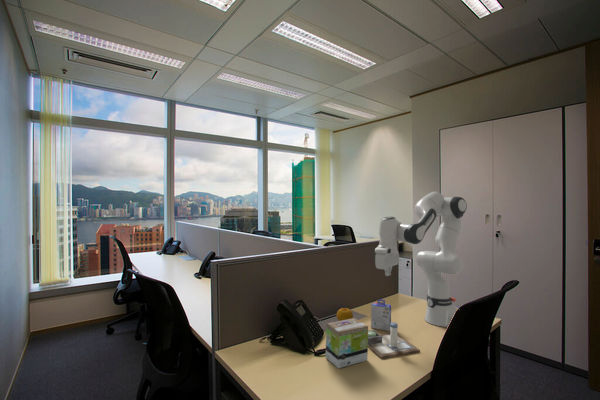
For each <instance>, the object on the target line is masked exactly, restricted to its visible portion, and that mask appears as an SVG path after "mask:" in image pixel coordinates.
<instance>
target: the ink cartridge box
mask: <svg viewBox="0 0 600 400" xmlns="http://www.w3.org/2000/svg"><path fill="white" fill-rule="evenodd" d="M370 318H371V319H370V328H371V329H374V330H381V331H386V332H390V323H392V305H391V304H388V303H386V300H385V299H381V298H380V299H379V298H378V299H377V302H372V303H371V305H370Z"/></svg>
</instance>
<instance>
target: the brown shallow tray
mask: <svg viewBox="0 0 600 400" xmlns="http://www.w3.org/2000/svg"><path fill="white" fill-rule="evenodd" d="M369 331H373V332H375V333H376V336H374V337H369V336H368V350H370V351H371V352H373V353H374V354H375V355H376V356H377V357H378V358H379V359H380V360H382V359H388V358H394V357H399V356H404V355H411V354H416V353H420V351H421V349H420V348H418V347H417V346H415V345H414V344H412V343H411V342H410V341H408V340H406V339H405V338H403V337H402V336H401V335H399V334H398V333H397V348H395V349H394V348H392V347H391V345H390V332H389V333H383V334H381V333H379V332H378V331H376V329H373V330H372V329H371V330H369Z"/></svg>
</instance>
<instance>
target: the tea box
mask: <svg viewBox="0 0 600 400" xmlns="http://www.w3.org/2000/svg"><path fill="white" fill-rule="evenodd" d="M325 331H326V332H325V358H326V359H327V360H328V361H329V362H330V363H331V364H332V365H334V366H335V367H336V368H337V369H341V368H344V367H349V366H353V365H355V364H358V363H362V362H367V361H368V354H369V353H368V352H369V351H368V350H369V348H368V331H369V325H367V324H365V323H364V322H362V321H360V320H358V319H357V318H355V317H353V318H352V319H347V320H342V321H338V320H337V321H332V322H327V323H326V330H325Z"/></svg>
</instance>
